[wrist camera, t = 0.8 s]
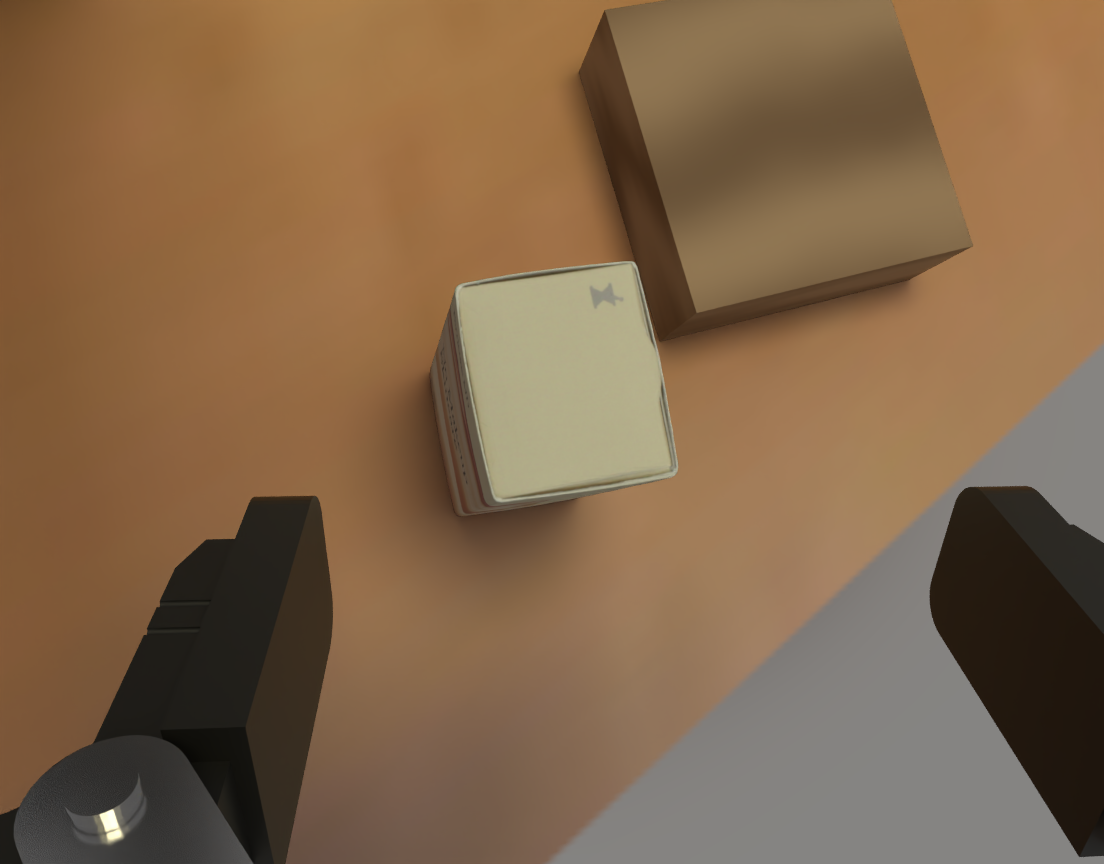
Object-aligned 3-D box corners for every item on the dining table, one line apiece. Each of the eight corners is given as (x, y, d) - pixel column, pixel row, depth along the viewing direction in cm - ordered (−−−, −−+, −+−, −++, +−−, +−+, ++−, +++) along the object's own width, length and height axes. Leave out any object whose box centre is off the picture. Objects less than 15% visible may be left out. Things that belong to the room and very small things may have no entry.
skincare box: (423, 368, 29) (449, 269, 19) (554, 350, 30) (642, 247, 20) (450, 528, 28) (489, 508, 19) (583, 505, 29) (686, 474, 20)
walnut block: (576, 76, 32) (604, 9, 28) (822, 34, 34) (880, -34, 30) (656, 344, 31) (696, 313, 27) (903, 282, 33) (972, 245, 29)
